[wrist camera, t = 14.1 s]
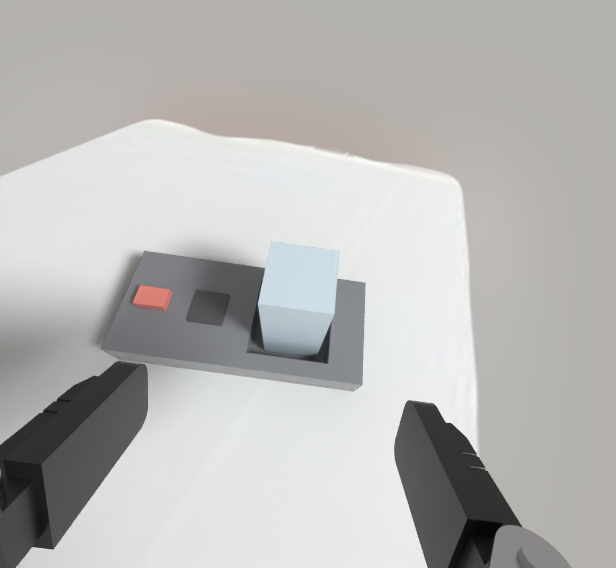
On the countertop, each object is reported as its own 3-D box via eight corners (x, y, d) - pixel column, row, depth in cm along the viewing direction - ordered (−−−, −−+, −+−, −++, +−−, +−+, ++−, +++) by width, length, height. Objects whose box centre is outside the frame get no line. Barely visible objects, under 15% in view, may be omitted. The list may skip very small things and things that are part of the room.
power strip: (118, 359, 26) (95, 346, 22) (156, 268, 30) (141, 245, 27) (353, 391, 26) (364, 383, 23) (357, 297, 30) (367, 278, 27)
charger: (264, 350, 27) (257, 303, 18) (273, 302, 29) (271, 239, 20) (315, 357, 27) (334, 314, 18) (320, 309, 29) (339, 249, 20)
